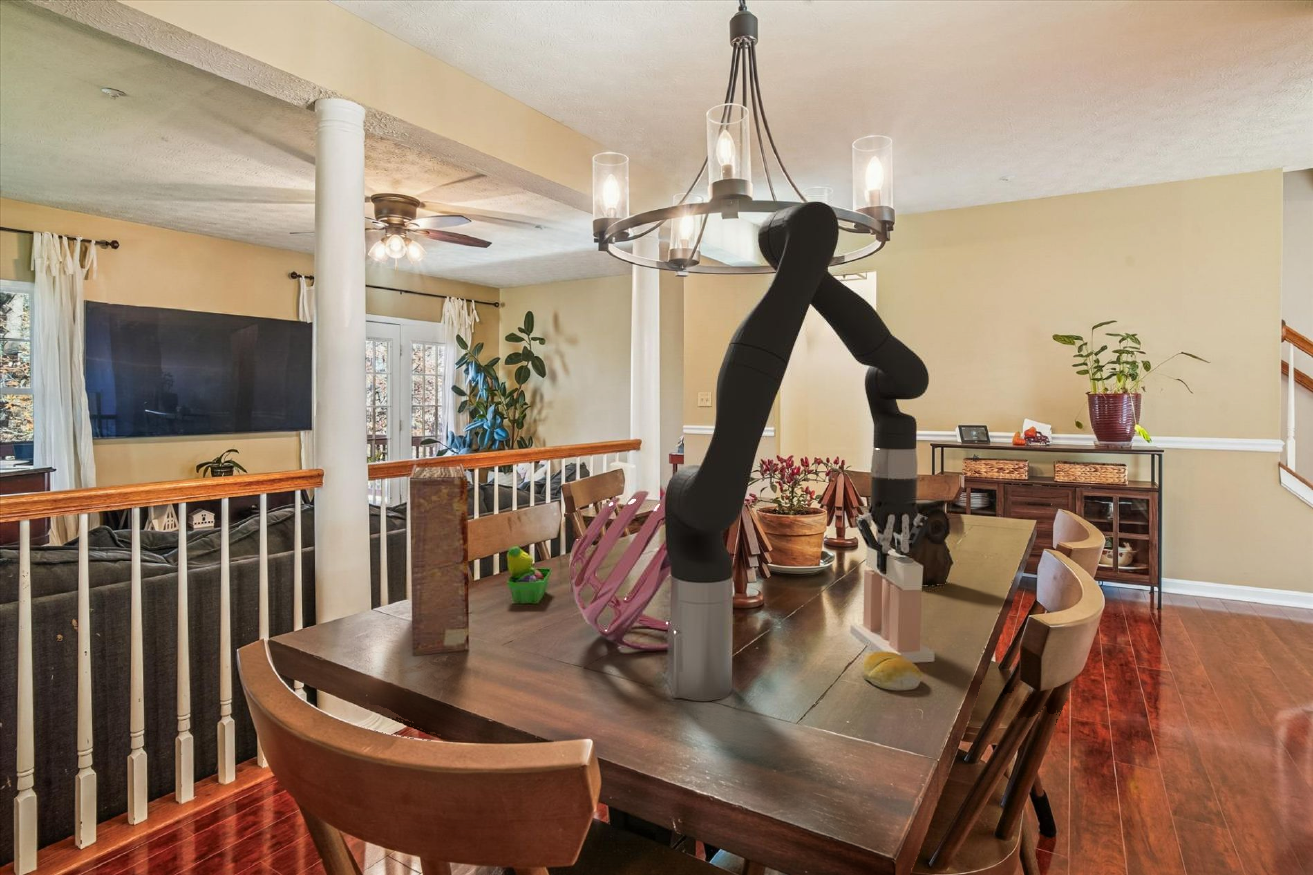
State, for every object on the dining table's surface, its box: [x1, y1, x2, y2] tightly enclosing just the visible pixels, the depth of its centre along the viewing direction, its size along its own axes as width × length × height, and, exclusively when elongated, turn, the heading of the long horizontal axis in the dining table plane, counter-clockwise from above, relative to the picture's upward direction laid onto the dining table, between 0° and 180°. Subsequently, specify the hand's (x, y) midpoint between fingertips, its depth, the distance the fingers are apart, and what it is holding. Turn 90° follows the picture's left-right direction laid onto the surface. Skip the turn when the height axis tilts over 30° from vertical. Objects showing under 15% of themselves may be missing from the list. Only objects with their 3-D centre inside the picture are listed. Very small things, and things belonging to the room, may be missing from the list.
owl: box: [889, 499, 954, 587], centre depth 162 cm, size 13×13×20 cm
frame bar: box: [865, 545, 923, 590], centre depth 119 cm, size 14×3×4 cm, turn 8°
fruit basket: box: [506, 546, 552, 605], centre depth 148 cm, size 11×9×11 cm
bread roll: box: [861, 651, 923, 691], centre depth 106 cm, size 8×9×4 cm
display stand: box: [849, 569, 935, 664], centre depth 120 cm, size 15×8×12 cm, turn 8°
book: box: [409, 463, 470, 656], centre depth 127 cm, size 25×9×30 cm, turn 18°
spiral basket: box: [568, 490, 671, 652], centre depth 122 cm, size 28×28×27 cm
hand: (891, 572), depth 119 cm, fingers closed on frame bar, 2 cm apart
